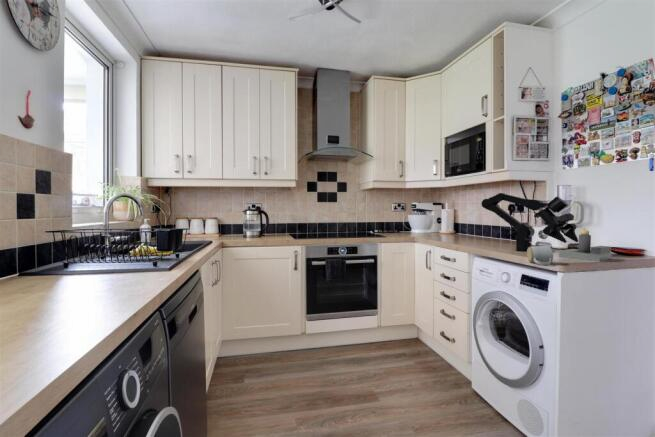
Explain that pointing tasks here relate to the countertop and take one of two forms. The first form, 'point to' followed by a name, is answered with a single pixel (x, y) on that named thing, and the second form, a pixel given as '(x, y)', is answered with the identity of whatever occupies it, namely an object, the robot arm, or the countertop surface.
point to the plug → (585, 242)
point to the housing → (595, 254)
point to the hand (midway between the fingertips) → (571, 241)
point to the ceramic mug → (540, 255)
